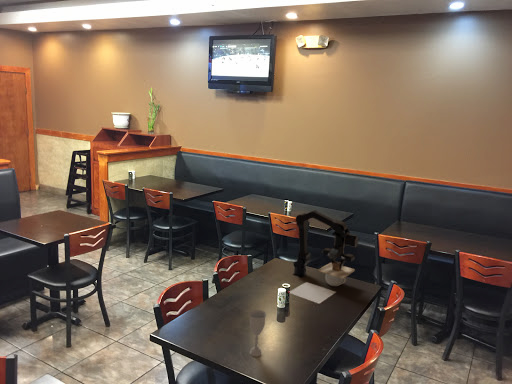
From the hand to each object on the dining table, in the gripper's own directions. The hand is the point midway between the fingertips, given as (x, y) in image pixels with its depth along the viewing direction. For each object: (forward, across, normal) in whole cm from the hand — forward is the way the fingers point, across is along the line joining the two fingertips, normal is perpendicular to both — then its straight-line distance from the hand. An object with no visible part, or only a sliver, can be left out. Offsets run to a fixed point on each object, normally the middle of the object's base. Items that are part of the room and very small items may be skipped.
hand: (336, 268), depth 246 cm
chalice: (+11, +7, -88) cm, 89 cm away
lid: (+2, 0, 0) cm, 2 cm away
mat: (+11, -5, -19) cm, 22 cm away
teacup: (+11, 0, 0) cm, 11 cm away
